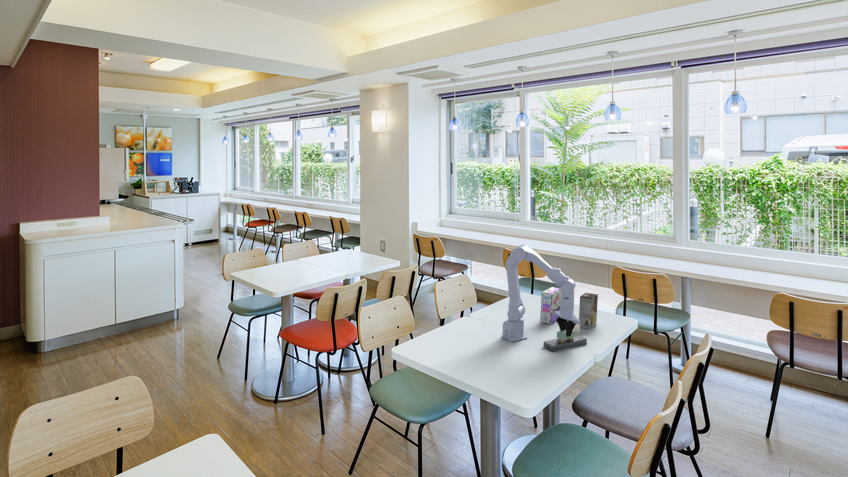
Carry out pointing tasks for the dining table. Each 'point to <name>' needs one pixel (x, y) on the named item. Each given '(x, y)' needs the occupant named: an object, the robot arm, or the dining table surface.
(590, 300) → the coffee box
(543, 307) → the candy box
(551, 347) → the rail
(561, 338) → the green toy bench
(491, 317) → the dining table surface
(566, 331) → the robot arm
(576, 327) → the white dome cap
